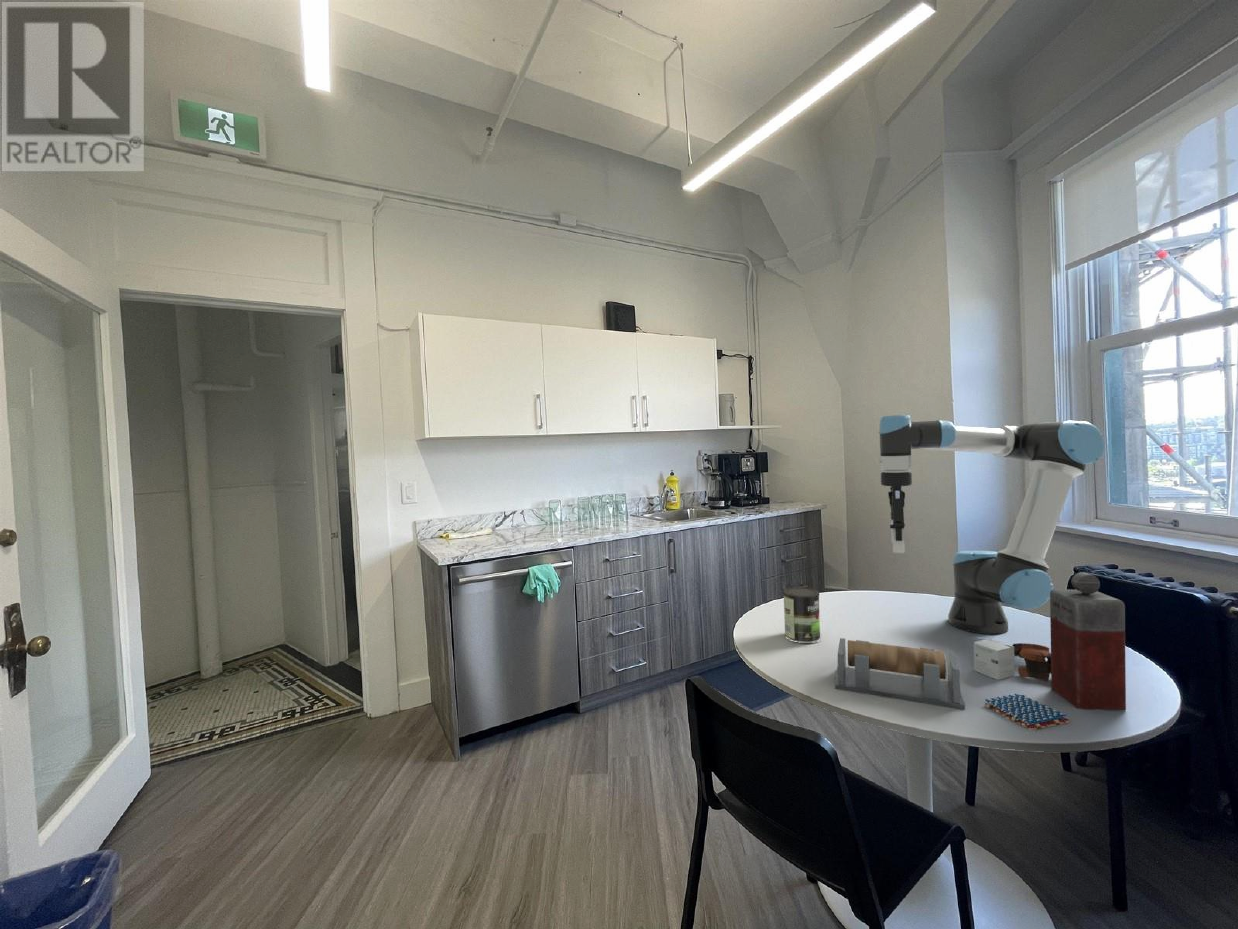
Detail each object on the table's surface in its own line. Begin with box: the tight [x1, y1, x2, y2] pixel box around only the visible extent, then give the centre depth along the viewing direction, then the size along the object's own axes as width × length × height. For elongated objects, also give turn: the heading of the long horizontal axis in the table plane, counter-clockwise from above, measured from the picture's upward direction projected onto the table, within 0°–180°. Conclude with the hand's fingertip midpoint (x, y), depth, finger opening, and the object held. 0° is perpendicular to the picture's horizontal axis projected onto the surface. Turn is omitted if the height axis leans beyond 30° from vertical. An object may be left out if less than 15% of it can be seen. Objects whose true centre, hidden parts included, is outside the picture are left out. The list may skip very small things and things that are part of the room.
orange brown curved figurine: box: [1011, 642, 1051, 682], centre depth 125 cm, size 12×10×8 cm
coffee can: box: [782, 586, 821, 644], centre depth 154 cm, size 10×10×14 cm
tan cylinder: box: [847, 639, 947, 680], centre depth 121 cm, size 20×6×6 cm, turn 63°
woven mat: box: [984, 693, 1070, 731], centre depth 107 cm, size 10×11×2 cm
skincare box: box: [973, 638, 1015, 681], centre depth 126 cm, size 6×6×7 cm
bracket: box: [834, 637, 966, 710], centre depth 121 cm, size 26×11×8 cm, turn 63°
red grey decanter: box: [1049, 572, 1127, 711], centre depth 113 cm, size 9×11×28 cm
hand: (897, 547), depth 141 cm, fingers open, 13 cm apart
